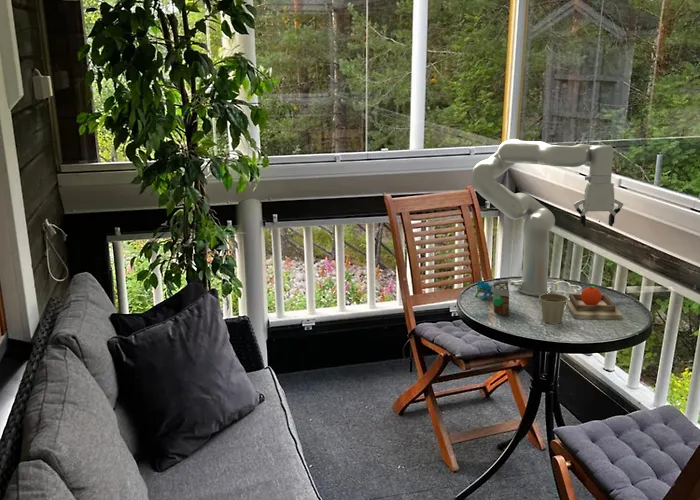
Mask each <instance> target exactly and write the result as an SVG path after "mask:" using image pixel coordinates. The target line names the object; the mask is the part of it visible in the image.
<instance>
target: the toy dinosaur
mask: <svg viewBox="0 0 700 500" xmlns="http://www.w3.org/2000/svg"><path fill="white" fill-rule="evenodd" d="M492 286H493V284H489V282H484V281H483V280H477V282H476V286H475V287H476V293H475V295H474V297H478V295H479V293H481V294H483V295H482V296H481V299H480V300H483V301H484V300H485V298H486V296H487V295H489V296H493V292H492V291H491V289H492Z"/></svg>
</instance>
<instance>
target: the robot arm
mask: <svg viewBox="0 0 700 500" xmlns="http://www.w3.org/2000/svg"><path fill="white" fill-rule="evenodd" d="M613 158H614V148H613V146H612V145H609V144H596V145H595V144H594V145H593V144H586V143H578V144H575V145H555V144H554V145H553V144H549V143H546V142H545V141H537V140H536V141H534V140H528V141H527V140H520V139H518V138H512V139H511V138H510V139H509V140H508V139H507V140H505V141H503V142H502V143H501V144H500V145H499V146H498V149H497V151H496V152H495V153H493V154H492V155H491V156H489V158H486V159H483V160H481V161H479V162H478V163H477V164H476V165H475V166H474V167H473V169H472V172H471V182H472V185H473V188H474V189H475V191H476V192H477V193H478V194H479V195H480V196H481V197H482V198H483V199H485V200H486V201H487V202H488V203H490V204H491V205H493V206H494V207H495V208H496V209H497V210H499V211H500V212H501V213H503V214H504V215H505V216H506V217H507V218H509V219H511V220H515V221H517V220H520V219H521V220H523V221H524V222H523V226H522V232H523V233H522V234H523V259H522V261H523V263H522V277H520V279H518V280H510V281H509V282H510V283H509V285H510V286H514V287H515V288H517V287H518V289H517V290H518V292H520V293H521V294H524V295H528V296H535V297H537V296H538V297H539V296H540V295H542V294H547V293H548V291H547V286H548V281H549V280H548V278H549V263H550V262H549V261H550V238H549V237H550V231H551V230H553V228H554V227H555V224H556V218H555V215H554V214H553V213H552V211H551V210H550V209H548V207H546V206H545V205H543V204H541V203H540V202H539V201H538V200H536V199H535V198H534V197H532V196H531V195H529V194H528V193H525V192H517V193H514V192H513V191H512V190H510V189H508V187H506V186H505V185H504V184H501V183H500V182H498V181H497V180H496V179H497V178H499V177H500V176H501V175H503V174H505V172H507V171H508V170H509V169H510V168H511V167H513V166H514V165H515V164H530V165H542V166H551V167H563V168H565V167H566V168H578V167H582V166H583V165H586V164H589V173H588V176H585V177H584V180H585V181H586V186H585V189H584V194H583V198H582V199H580V200H578V201H576V202H574V203H573V207H574V209H575V211H577V213H578V214H579V216H580V217H579V220H580V221H579V223H580V225H581V226H582V227H586V221H587V220H586V219H587V217H586V214H587V213H588V212H609V215H608V224H607V225H608V226H609V227H614V224H615V219H616V215H617V214H618V213H619V212H620V211H621V209H623V206H624V203H623V202H621V201H620V200H617V199H615V187H614V183H613V182H612V172H613V171H612V170H613V161H614V159H613ZM615 204H616V205H617V207H616V208H615ZM580 205H582V209H580ZM614 208H615V209H614Z"/></svg>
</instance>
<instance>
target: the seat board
mask: <svg viewBox="0 0 700 500" xmlns="http://www.w3.org/2000/svg"><path fill="white" fill-rule="evenodd" d="M568 296H569V298H570V300H567V301H566V303H567V306H566V307H567V309H568V311H569V312H570V313H571V314H570V315H572V317H573V319H579V320H580V319H583V320H584V319H585V320H586V319H589V320H592V319H593V320H623V314H622V313H621V311H620V309H618V308H617V306H616V305H615V304H614V303H613V301H612V300H611V299H610V298H609V296H608V295H607V294H602V293H601V300H600V302H599V303H598V304H597V305H586V304H585V303H584V302H583V301H582V299H581V293H569V295H568Z"/></svg>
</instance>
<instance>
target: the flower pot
mask: <svg viewBox="0 0 700 500" xmlns="http://www.w3.org/2000/svg"><path fill="white" fill-rule="evenodd" d="M566 296H567V295H564V294H563V295H562V294H559V293H552V292H551V293H548V294H542V295H540V296H538V299H539V301H540V305H541V306H540V307H541V316H542V321H543V322H544V323H545V324H546V323H547V324H550V325H558V324H560V323H562V321H563V317H564V312H565V306H566V301H567V300H568V298H567V297H566Z"/></svg>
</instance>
